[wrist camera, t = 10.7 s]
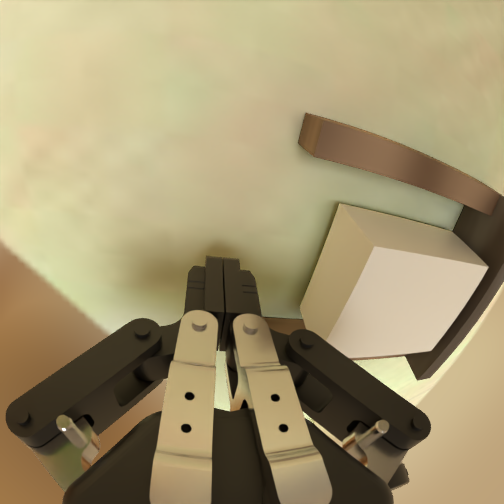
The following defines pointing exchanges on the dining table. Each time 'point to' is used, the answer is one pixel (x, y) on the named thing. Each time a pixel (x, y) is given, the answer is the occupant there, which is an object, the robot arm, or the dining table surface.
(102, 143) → the dining table surface
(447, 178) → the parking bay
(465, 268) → the white rectangular block
